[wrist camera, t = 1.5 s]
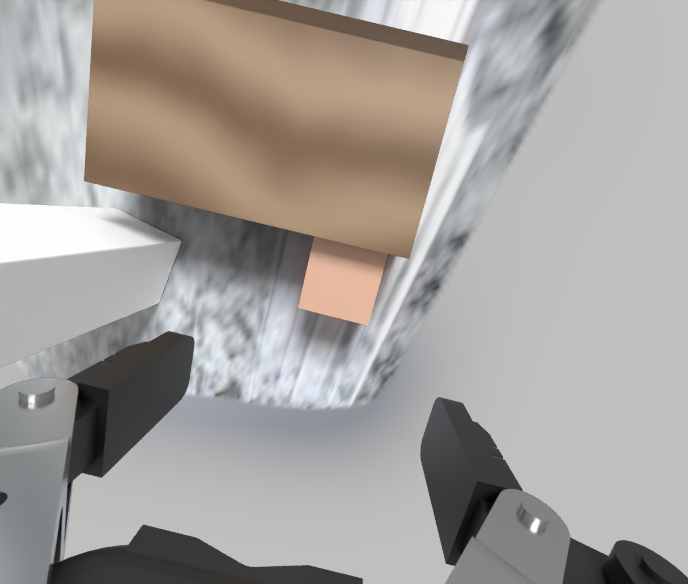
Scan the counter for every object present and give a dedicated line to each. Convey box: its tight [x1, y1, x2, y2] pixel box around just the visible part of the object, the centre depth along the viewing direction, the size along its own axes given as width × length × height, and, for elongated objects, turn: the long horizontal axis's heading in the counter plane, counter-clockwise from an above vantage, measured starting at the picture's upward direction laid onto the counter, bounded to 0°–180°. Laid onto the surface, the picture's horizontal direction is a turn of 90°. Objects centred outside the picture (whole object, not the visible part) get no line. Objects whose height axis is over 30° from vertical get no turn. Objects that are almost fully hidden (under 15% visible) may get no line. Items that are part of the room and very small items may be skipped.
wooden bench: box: [84, 0, 469, 259], centre depth 22 cm, size 12×21×6 cm, turn 77°
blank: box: [298, 236, 388, 326], centre depth 24 cm, size 10×5×5 cm, turn 166°
